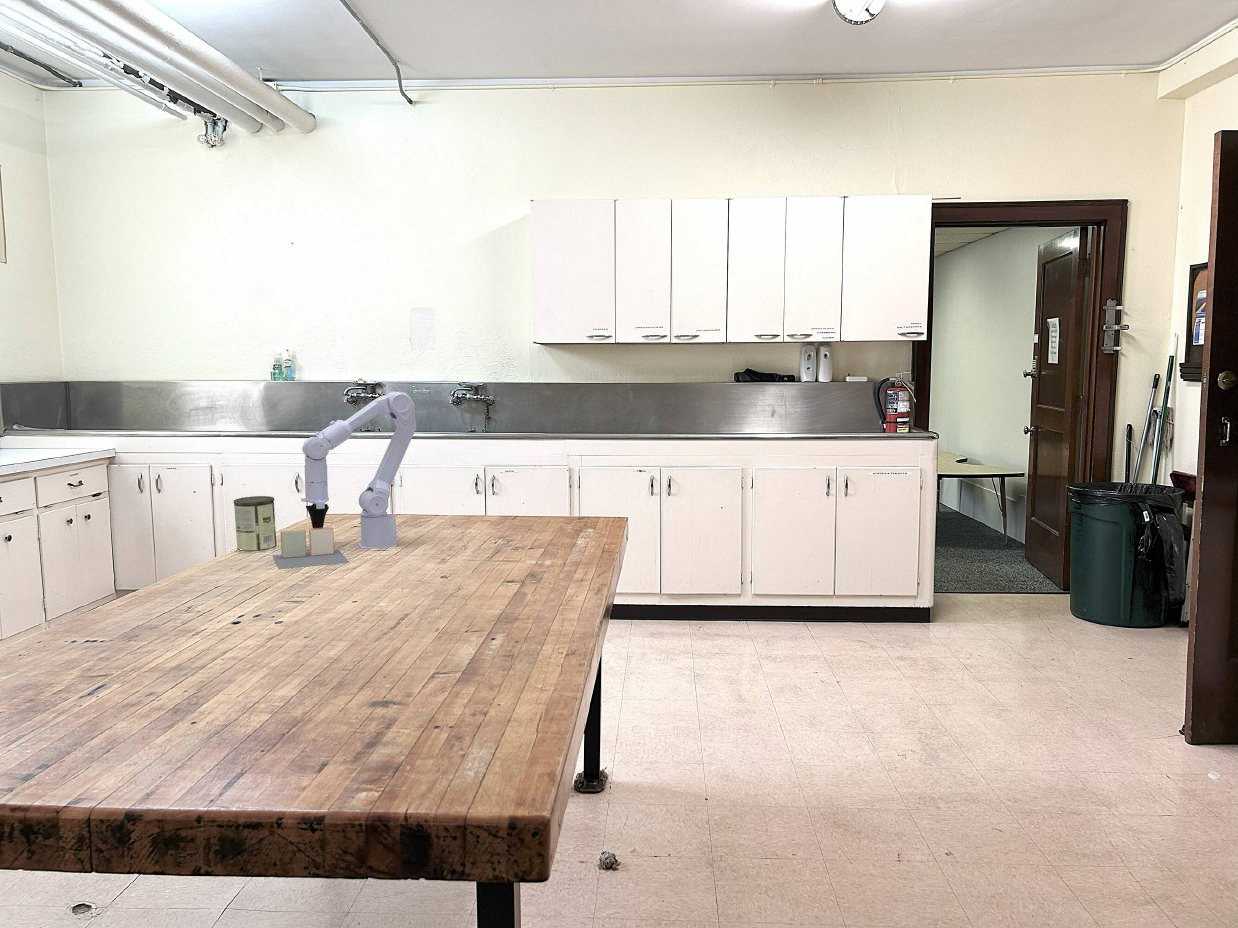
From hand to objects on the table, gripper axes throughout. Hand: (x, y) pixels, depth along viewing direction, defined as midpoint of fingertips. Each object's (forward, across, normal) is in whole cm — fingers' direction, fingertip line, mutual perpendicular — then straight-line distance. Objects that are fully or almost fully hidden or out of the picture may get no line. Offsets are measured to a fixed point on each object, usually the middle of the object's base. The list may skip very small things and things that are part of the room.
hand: (317, 531), depth 240 cm
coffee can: (+6, -9, -15) cm, 19 cm away
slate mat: (+6, +10, -3) cm, 12 cm away
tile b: (+5, +6, -7) cm, 11 cm away
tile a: (+5, +6, 0) cm, 8 cm away
